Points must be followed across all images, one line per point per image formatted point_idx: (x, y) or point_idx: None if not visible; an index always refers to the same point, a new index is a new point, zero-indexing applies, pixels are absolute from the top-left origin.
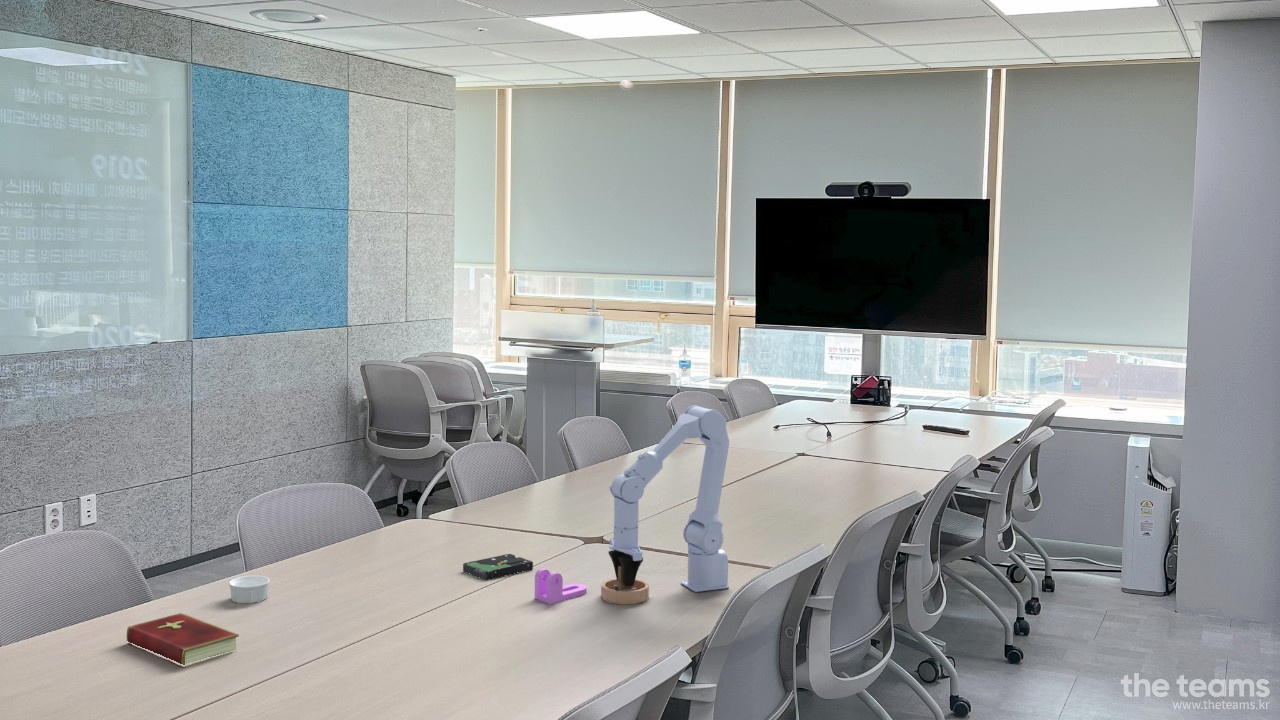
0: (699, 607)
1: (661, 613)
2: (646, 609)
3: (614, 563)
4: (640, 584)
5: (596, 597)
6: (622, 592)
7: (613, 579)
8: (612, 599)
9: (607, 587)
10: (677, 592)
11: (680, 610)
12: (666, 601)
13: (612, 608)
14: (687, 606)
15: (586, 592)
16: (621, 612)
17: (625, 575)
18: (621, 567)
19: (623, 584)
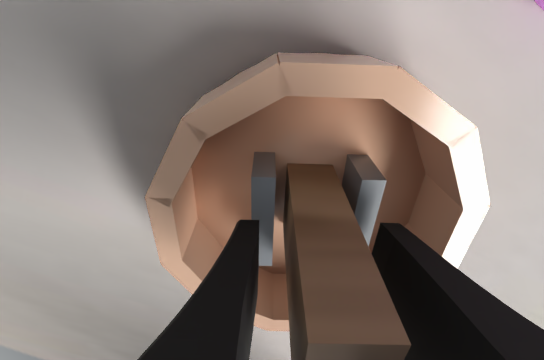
0: (89, 349)
1: (13, 233)
2: (81, 202)
3: (510, 350)
4: None
5: (398, 30)
6: (165, 158)
7: (469, 220)
8: (226, 84)
9: (429, 144)
10: (273, 355)
11: (57, 300)
12: (183, 301)
13: (124, 30)
14: (106, 330)
15: (539, 3)
16: (28, 52)
17: (202, 288)
18: (319, 351)
19: (291, 224)
